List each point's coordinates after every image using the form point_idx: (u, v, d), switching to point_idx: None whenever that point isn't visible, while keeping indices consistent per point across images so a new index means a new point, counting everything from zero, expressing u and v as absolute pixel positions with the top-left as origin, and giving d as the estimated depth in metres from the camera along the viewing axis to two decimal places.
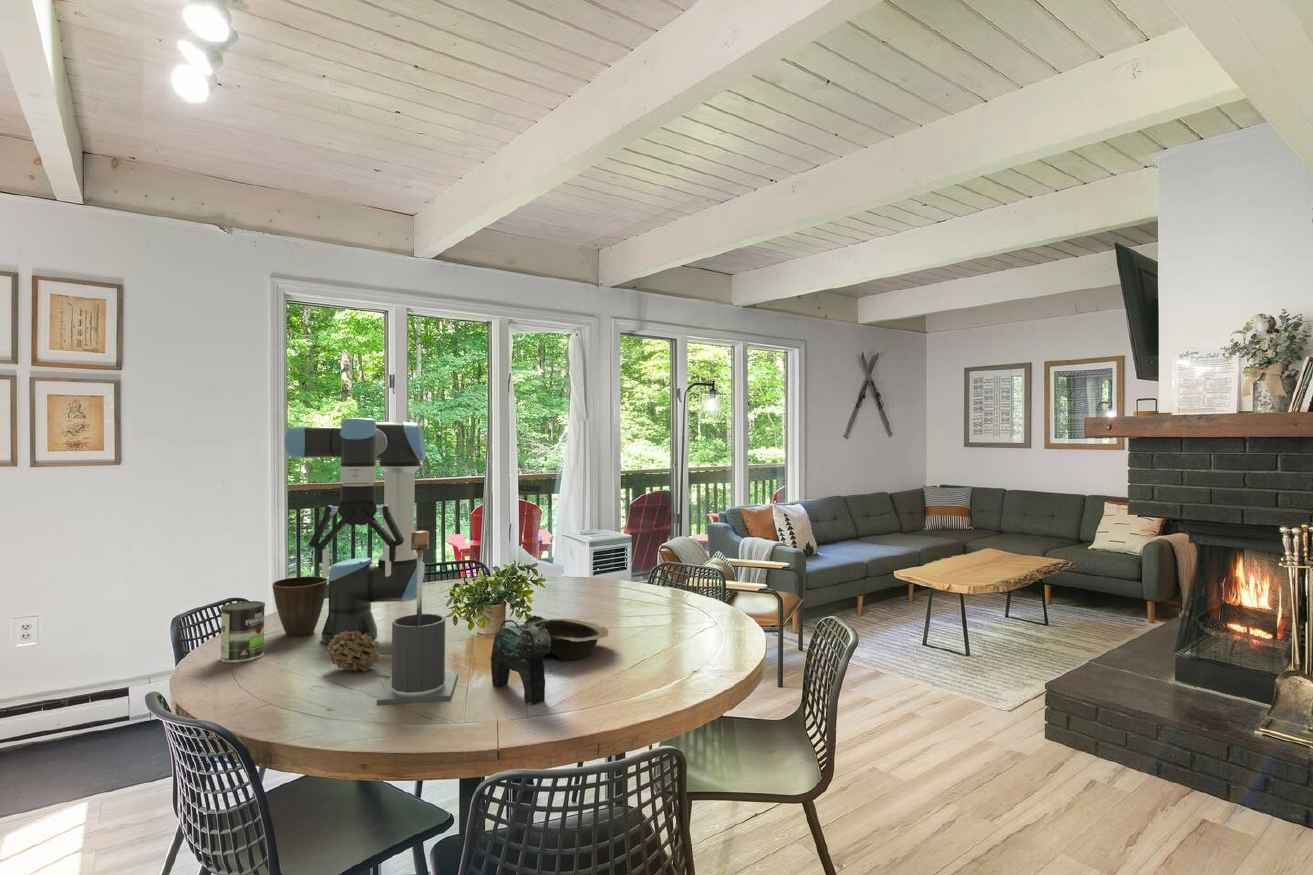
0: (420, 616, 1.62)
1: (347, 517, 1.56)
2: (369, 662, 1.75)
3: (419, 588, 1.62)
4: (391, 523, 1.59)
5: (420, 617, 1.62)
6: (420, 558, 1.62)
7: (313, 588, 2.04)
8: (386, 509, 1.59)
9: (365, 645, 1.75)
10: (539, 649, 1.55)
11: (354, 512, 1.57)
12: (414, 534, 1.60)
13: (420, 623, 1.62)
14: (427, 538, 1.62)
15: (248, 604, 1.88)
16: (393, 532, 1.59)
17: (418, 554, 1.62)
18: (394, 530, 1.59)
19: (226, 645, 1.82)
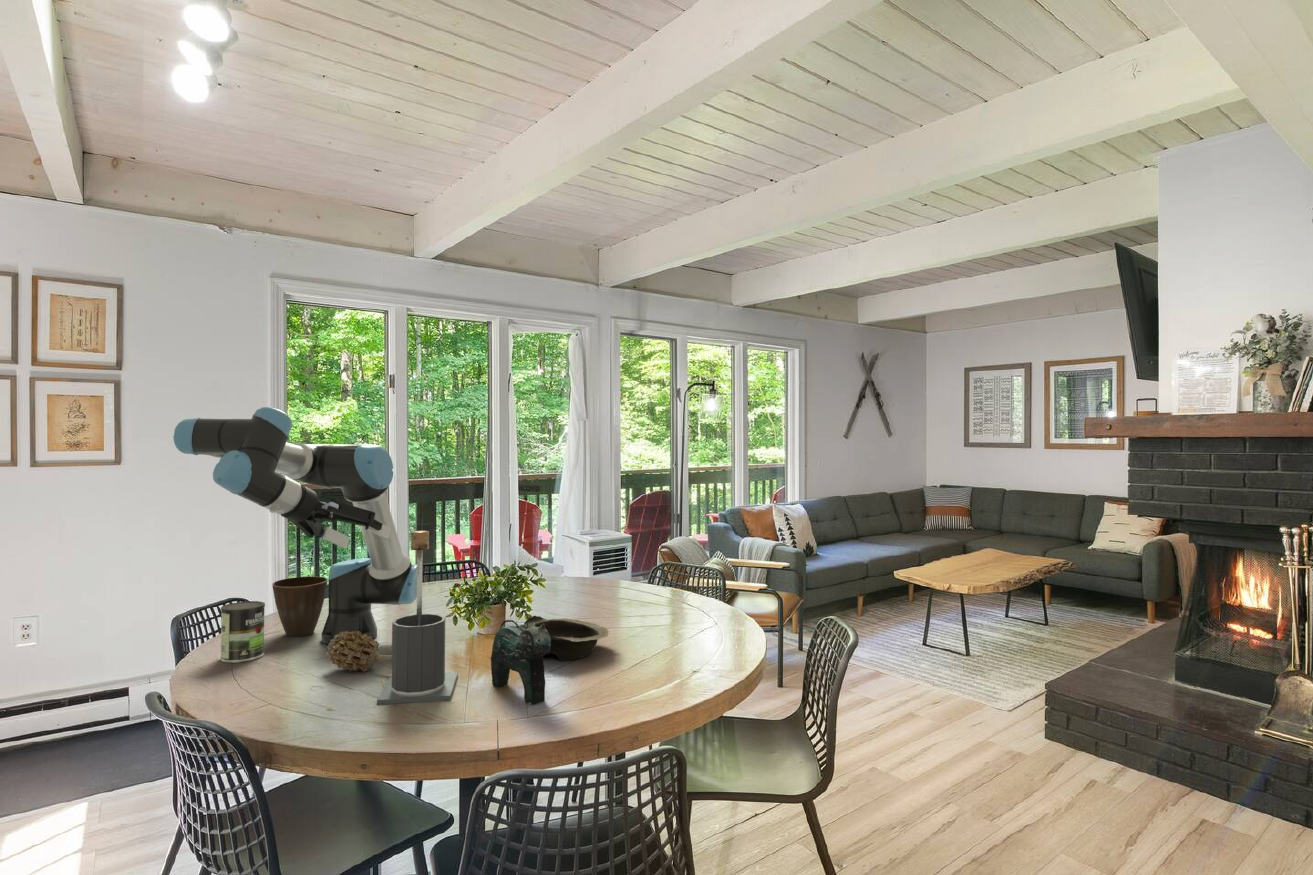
0: (420, 616, 1.62)
1: (310, 522, 1.50)
2: (369, 662, 1.75)
3: (419, 588, 1.62)
4: (347, 515, 1.48)
5: (420, 617, 1.62)
6: (420, 558, 1.62)
7: (313, 588, 2.04)
8: (332, 510, 1.46)
9: (365, 645, 1.75)
10: (539, 649, 1.55)
11: (312, 517, 1.49)
12: (414, 534, 1.60)
13: (420, 623, 1.62)
14: (427, 538, 1.62)
15: (248, 604, 1.88)
16: (357, 519, 1.49)
17: (418, 554, 1.62)
18: (356, 518, 1.49)
19: (226, 645, 1.82)
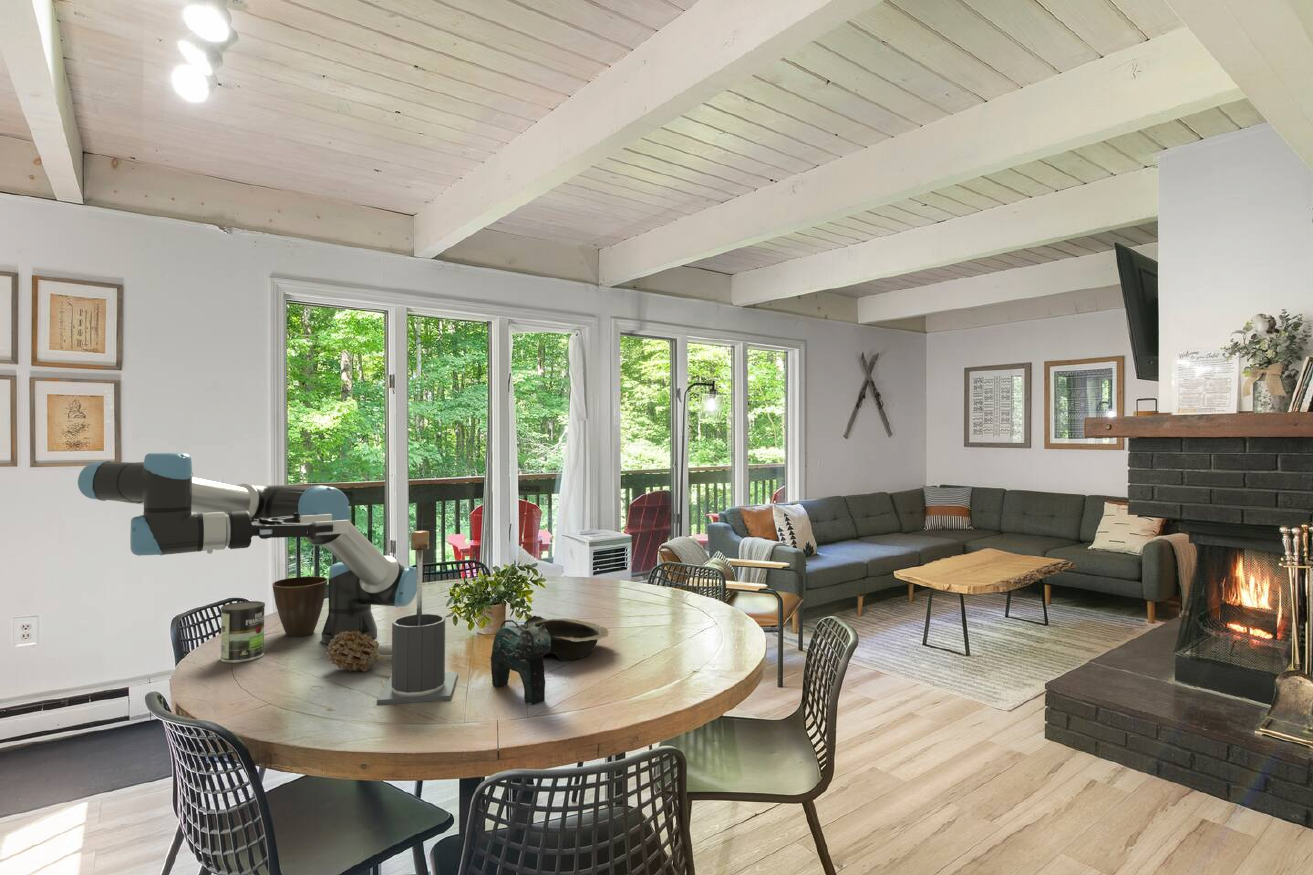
0: (420, 616, 1.62)
1: None
2: (369, 662, 1.75)
3: (419, 588, 1.62)
4: None
5: (420, 617, 1.62)
6: (420, 558, 1.62)
7: (313, 588, 2.04)
8: (265, 538, 1.36)
9: (365, 645, 1.75)
10: (539, 649, 1.55)
11: None
12: (414, 534, 1.60)
13: (420, 623, 1.62)
14: (427, 538, 1.62)
15: (248, 604, 1.88)
16: (297, 536, 1.38)
17: (418, 554, 1.62)
18: (294, 536, 1.38)
19: (226, 645, 1.82)
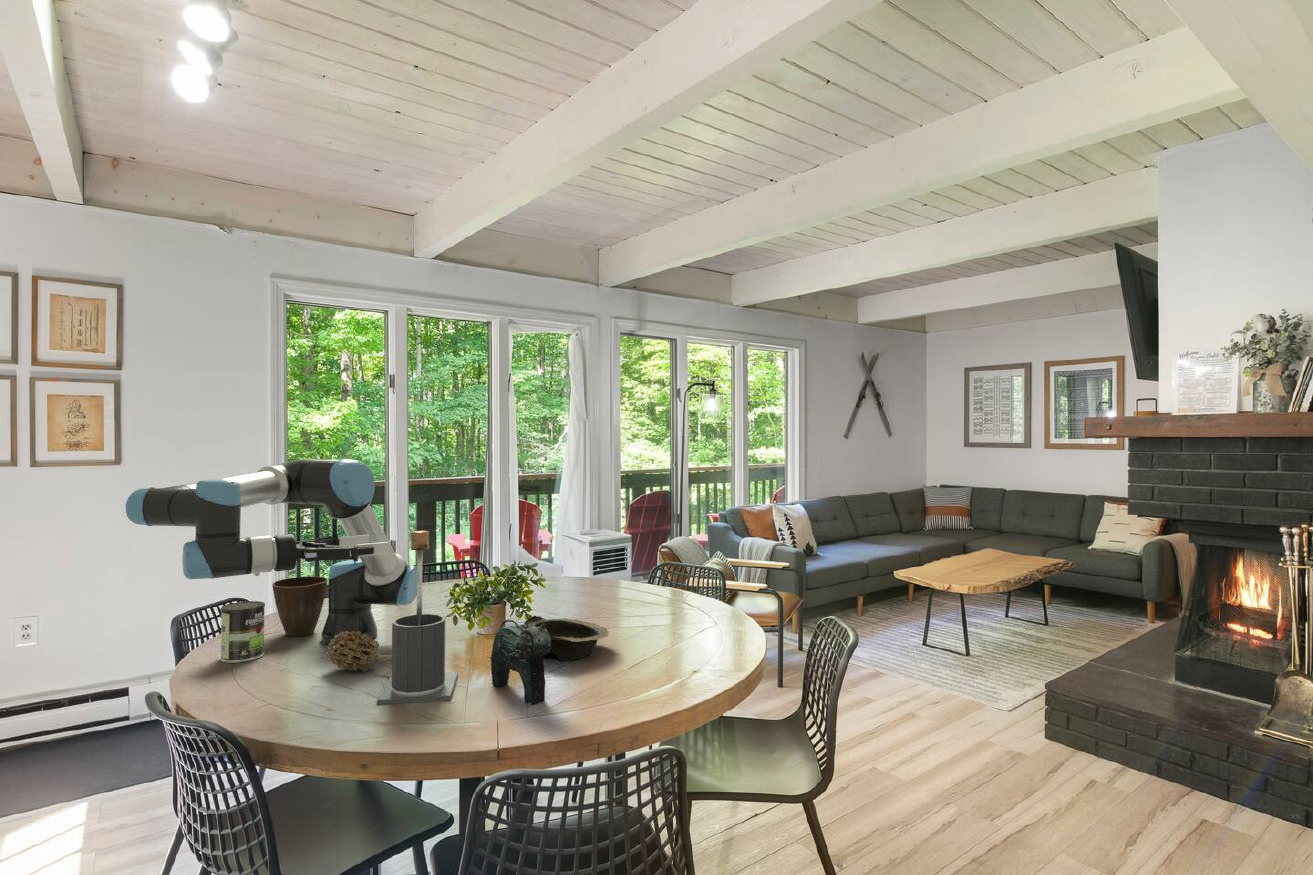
0: (420, 616, 1.62)
1: None
2: (369, 662, 1.75)
3: (419, 588, 1.62)
4: None
5: (420, 617, 1.62)
6: (420, 558, 1.62)
7: (313, 588, 2.04)
8: (310, 560, 1.41)
9: (365, 645, 1.75)
10: (539, 649, 1.55)
11: None
12: (414, 534, 1.60)
13: (420, 623, 1.62)
14: (427, 538, 1.62)
15: (248, 604, 1.88)
16: None
17: (418, 554, 1.62)
18: (338, 559, 1.43)
19: (226, 645, 1.82)
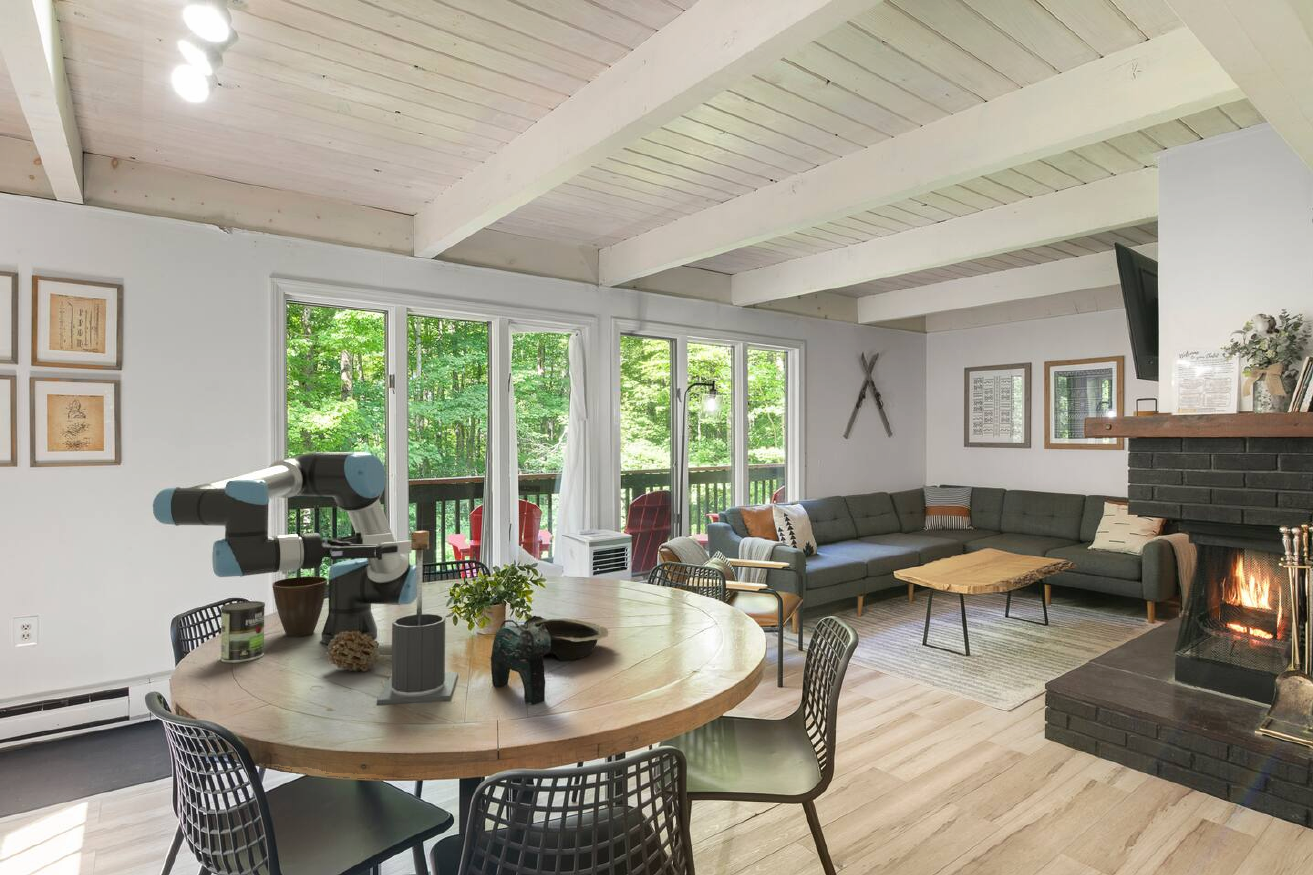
0: (420, 616, 1.62)
1: None
2: (369, 662, 1.75)
3: (419, 588, 1.62)
4: None
5: (420, 617, 1.62)
6: (420, 558, 1.62)
7: (313, 588, 2.04)
8: None
9: (365, 645, 1.75)
10: (539, 649, 1.55)
11: None
12: (414, 534, 1.60)
13: (420, 623, 1.62)
14: (427, 538, 1.62)
15: (248, 604, 1.88)
16: None
17: (418, 554, 1.62)
18: (363, 557, 1.46)
19: (226, 645, 1.82)
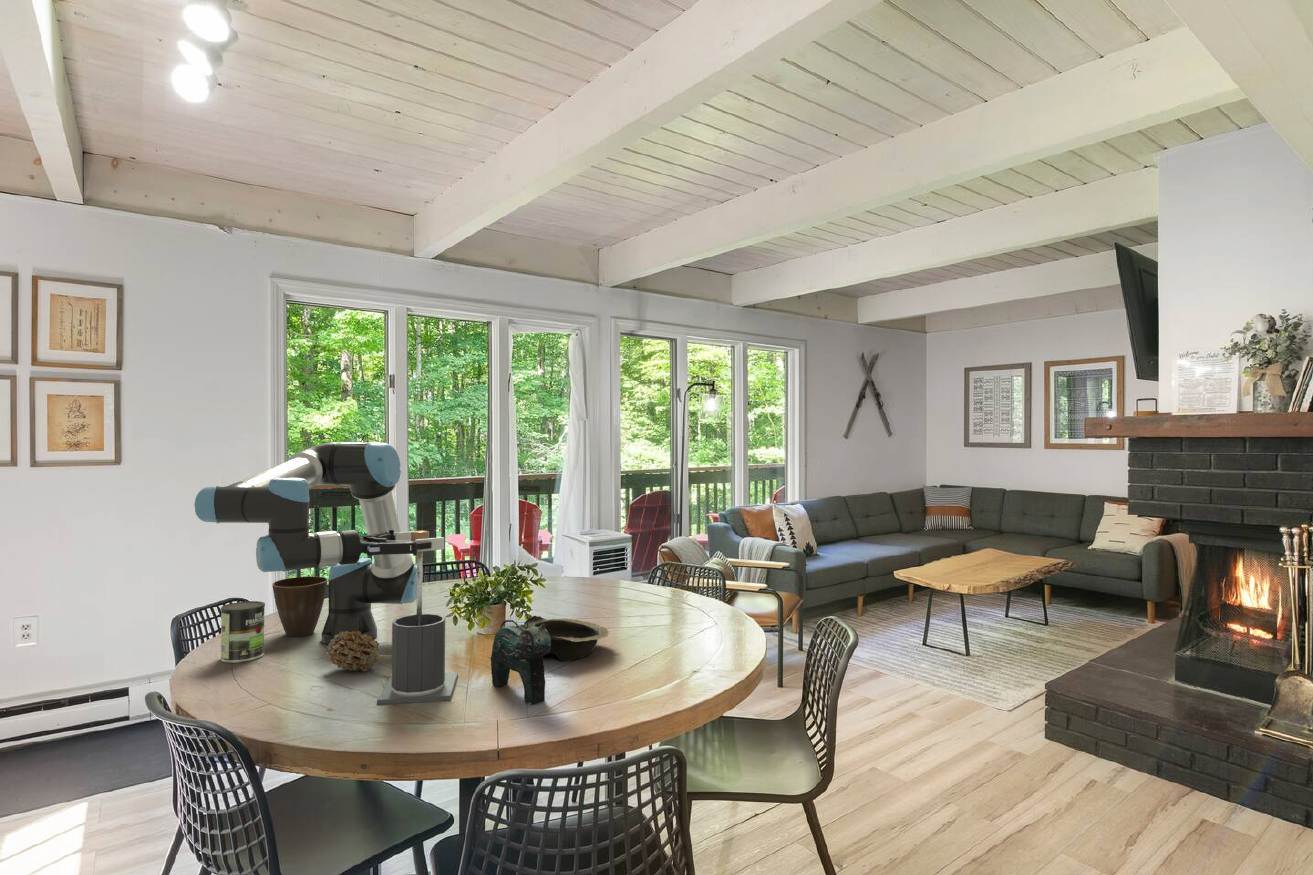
0: (420, 616, 1.62)
1: None
2: (369, 662, 1.75)
3: (419, 588, 1.62)
4: (391, 554, 1.50)
5: (420, 617, 1.62)
6: (420, 558, 1.62)
7: (313, 588, 2.04)
8: (374, 555, 1.49)
9: (365, 645, 1.75)
10: (539, 649, 1.55)
11: None
12: (414, 534, 1.60)
13: (420, 623, 1.62)
14: (427, 538, 1.62)
15: (248, 604, 1.88)
16: None
17: (418, 554, 1.62)
18: (399, 553, 1.51)
19: (226, 645, 1.82)
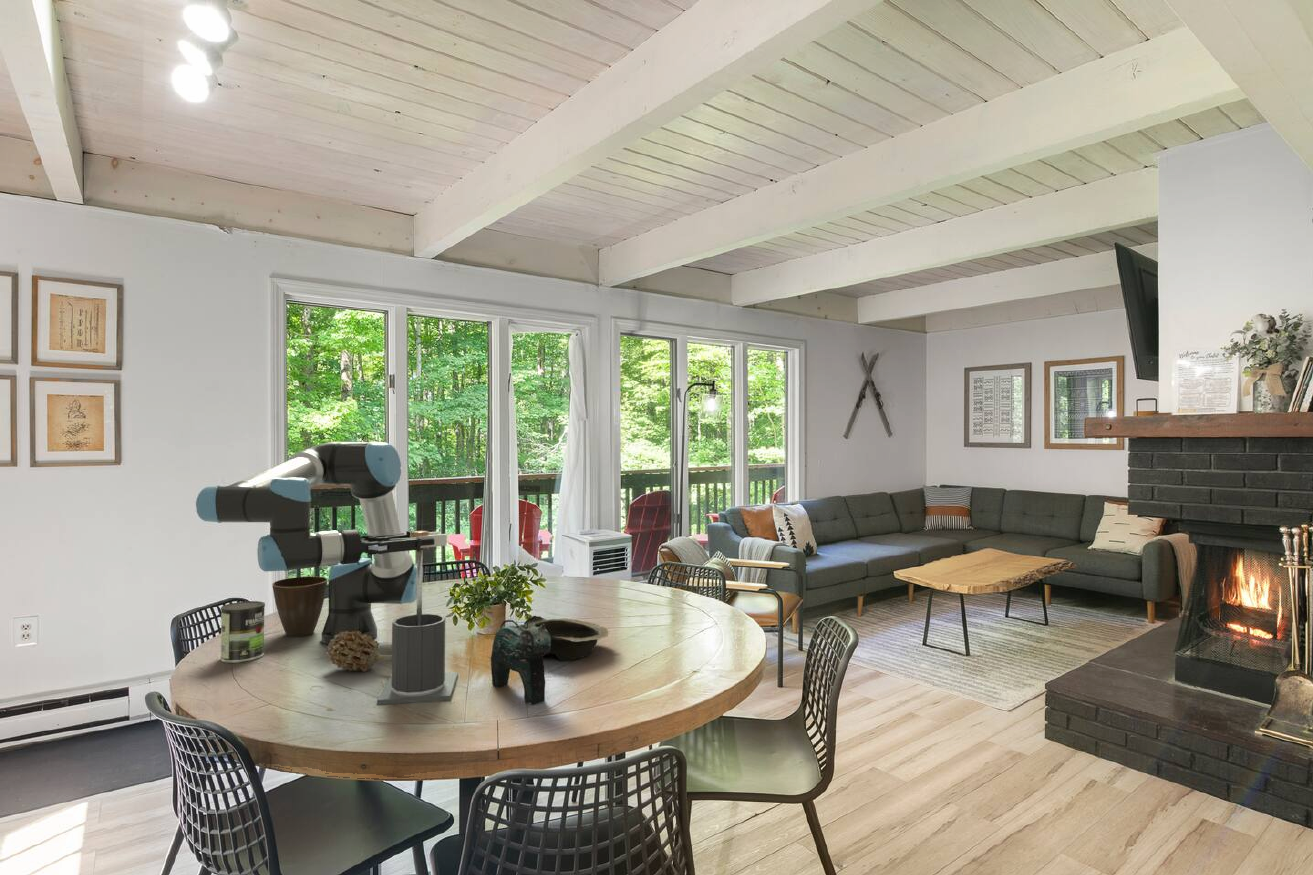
0: (420, 616, 1.62)
1: None
2: (369, 662, 1.75)
3: (419, 588, 1.62)
4: (397, 551, 1.53)
5: (420, 617, 1.62)
6: (420, 558, 1.62)
7: (313, 588, 2.04)
8: (382, 553, 1.51)
9: (365, 645, 1.75)
10: (539, 649, 1.55)
11: None
12: (414, 534, 1.60)
13: (420, 623, 1.62)
14: None
15: (248, 604, 1.88)
16: None
17: (418, 554, 1.62)
18: (404, 550, 1.55)
19: (226, 645, 1.82)
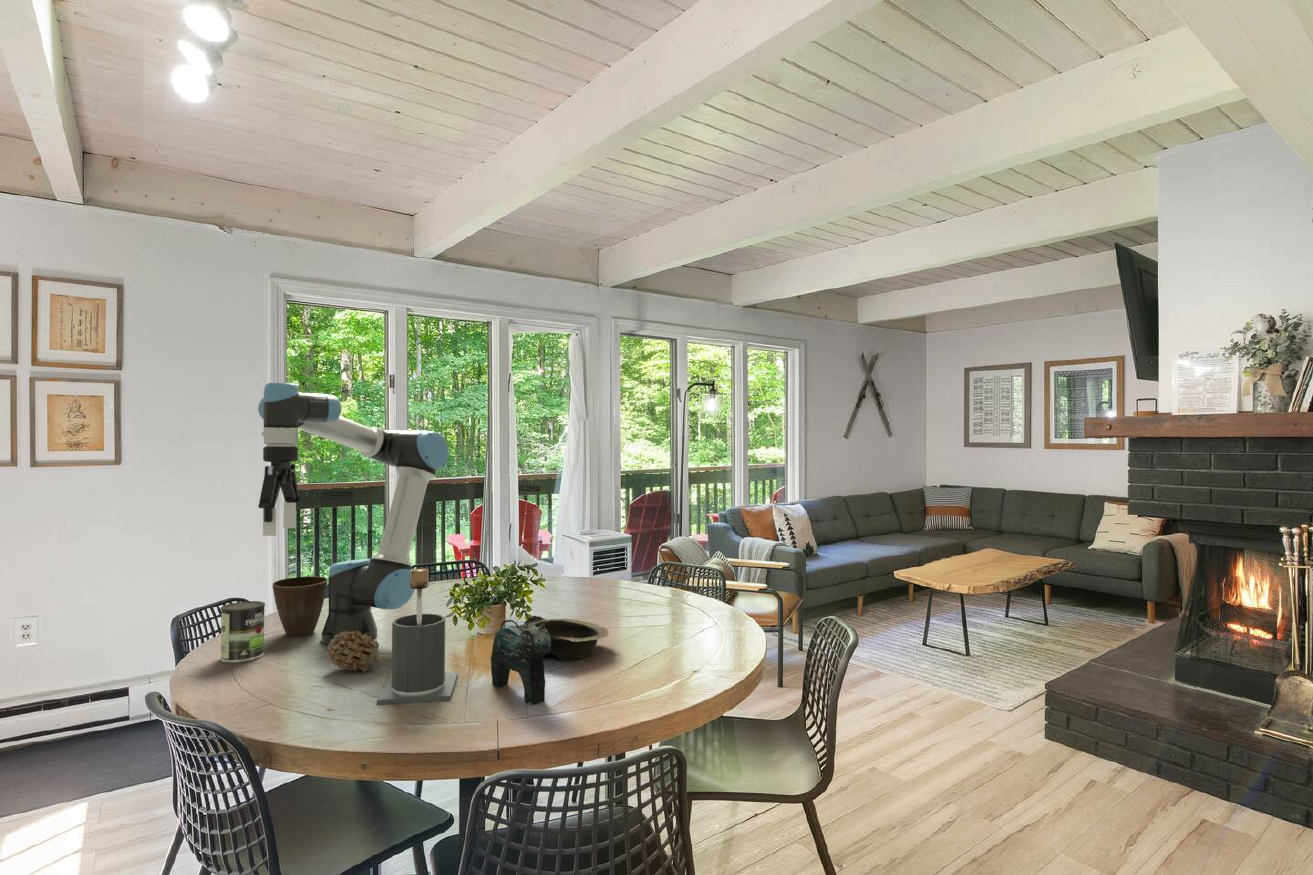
0: None
1: None
2: (369, 662, 1.75)
3: None
4: None
5: None
6: (420, 597, 1.62)
7: (313, 588, 2.04)
8: (265, 470, 1.62)
9: (365, 645, 1.75)
10: (539, 649, 1.55)
11: None
12: (414, 573, 1.60)
13: None
14: (427, 576, 1.62)
15: (248, 604, 1.88)
16: None
17: (418, 592, 1.62)
18: None
19: (226, 645, 1.82)
